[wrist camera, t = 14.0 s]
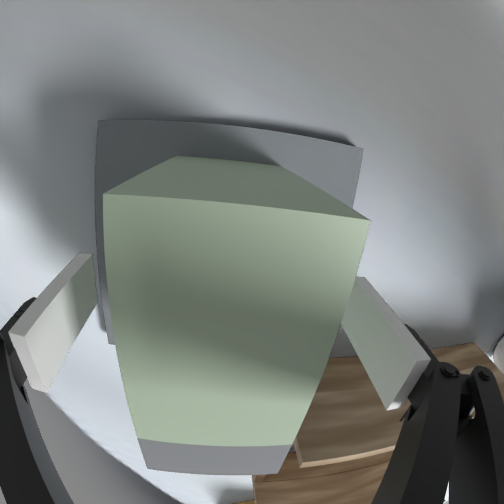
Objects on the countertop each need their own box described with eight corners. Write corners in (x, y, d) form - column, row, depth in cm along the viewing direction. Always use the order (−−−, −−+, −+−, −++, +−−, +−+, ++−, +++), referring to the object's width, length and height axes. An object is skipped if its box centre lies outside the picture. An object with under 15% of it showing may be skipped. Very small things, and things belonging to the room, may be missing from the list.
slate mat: (104, 120, 15) (98, 120, 14) (356, 147, 18) (363, 148, 17) (112, 335, 21) (108, 343, 20) (308, 349, 23) (311, 357, 22)
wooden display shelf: (277, 358, 23) (302, 462, 14) (474, 342, 27) (520, 393, 18) (249, 458, 30) (258, 526, 21) (413, 433, 33) (438, 481, 24)
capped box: (176, 155, 16) (103, 194, 6) (281, 166, 17) (370, 220, 7) (170, 331, 20) (147, 468, 10) (253, 337, 21) (277, 473, 11)
